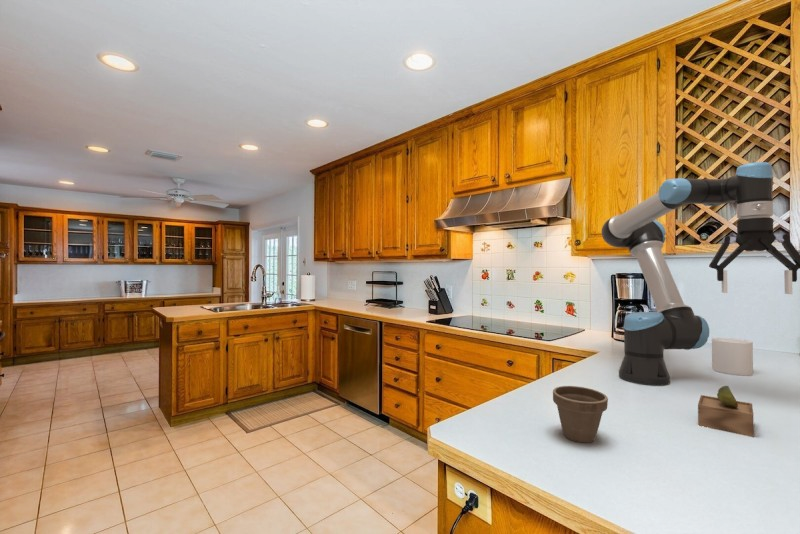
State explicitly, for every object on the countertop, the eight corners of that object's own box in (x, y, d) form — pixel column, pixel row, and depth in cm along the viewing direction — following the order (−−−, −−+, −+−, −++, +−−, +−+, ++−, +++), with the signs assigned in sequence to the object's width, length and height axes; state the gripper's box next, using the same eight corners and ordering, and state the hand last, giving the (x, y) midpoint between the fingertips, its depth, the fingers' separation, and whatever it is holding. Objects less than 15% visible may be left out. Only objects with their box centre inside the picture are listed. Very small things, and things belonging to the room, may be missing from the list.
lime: (727, 403, 97) (727, 383, 97) (746, 409, 92) (746, 388, 92) (711, 403, 96) (711, 383, 96) (729, 410, 91) (729, 389, 92)
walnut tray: (698, 427, 94) (697, 404, 94) (701, 415, 101) (700, 394, 101) (753, 438, 87) (753, 414, 87) (752, 425, 95) (752, 403, 95)
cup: (746, 377, 137) (746, 344, 137) (707, 370, 147) (706, 339, 147) (757, 373, 143) (757, 341, 143) (719, 366, 153) (718, 336, 153)
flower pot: (616, 450, 80) (616, 402, 81) (559, 446, 82) (559, 399, 82) (598, 428, 92) (597, 386, 92) (548, 425, 94) (548, 384, 94)
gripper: (701, 219, 111) (702, 292, 111) (823, 213, 99) (824, 295, 99) (697, 222, 118) (697, 291, 117) (810, 216, 105) (811, 293, 105)
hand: (755, 293), depth 108 cm, fingers open, 13 cm apart
